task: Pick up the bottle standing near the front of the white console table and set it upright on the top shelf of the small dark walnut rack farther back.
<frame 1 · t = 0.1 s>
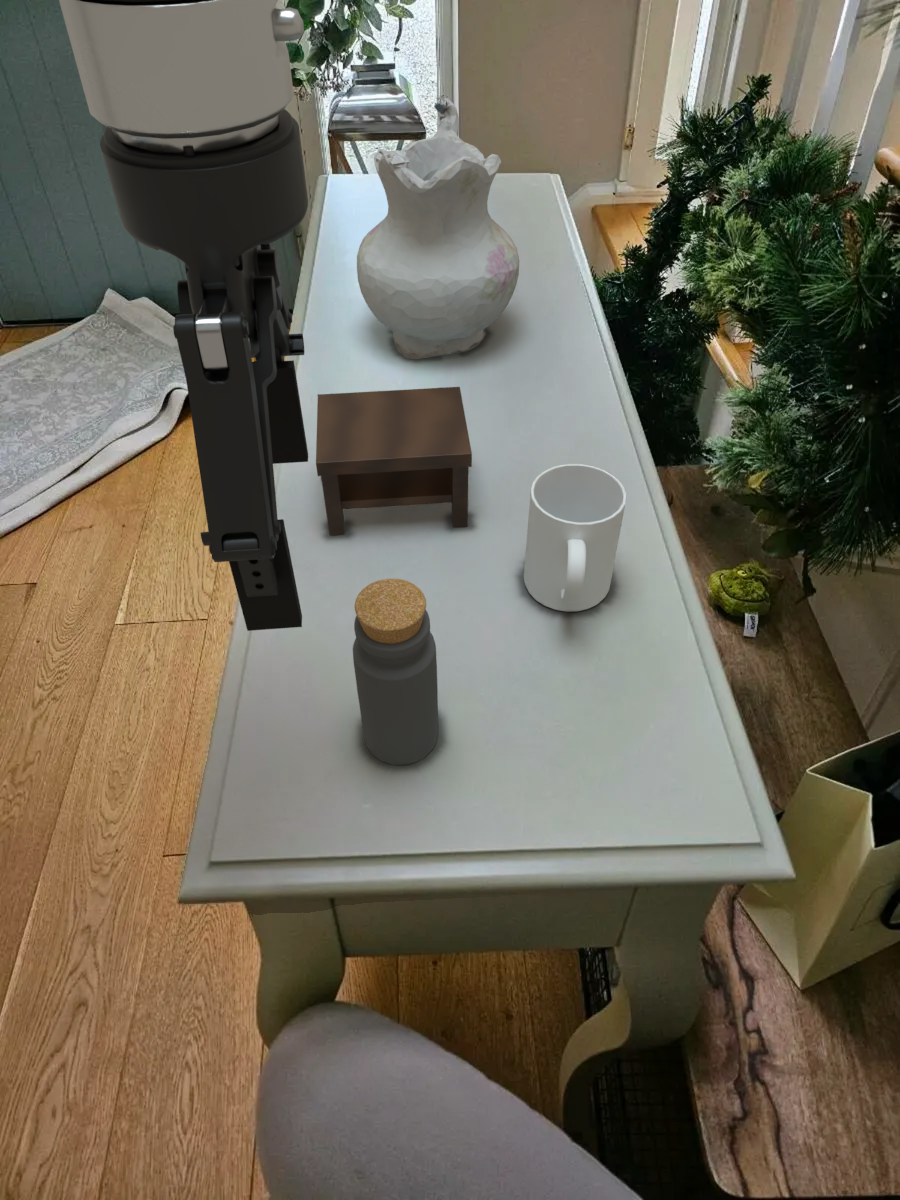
hand: (281, 534, 48), 24 cm above the table, tool pointing down, fingers open, 13 cm apart
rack: (396, 496, 87), on the table
ceramic pitcher: (438, 331, 110), on the table
mug: (566, 600, 77), on the table
bottle: (401, 735, 67), on the table
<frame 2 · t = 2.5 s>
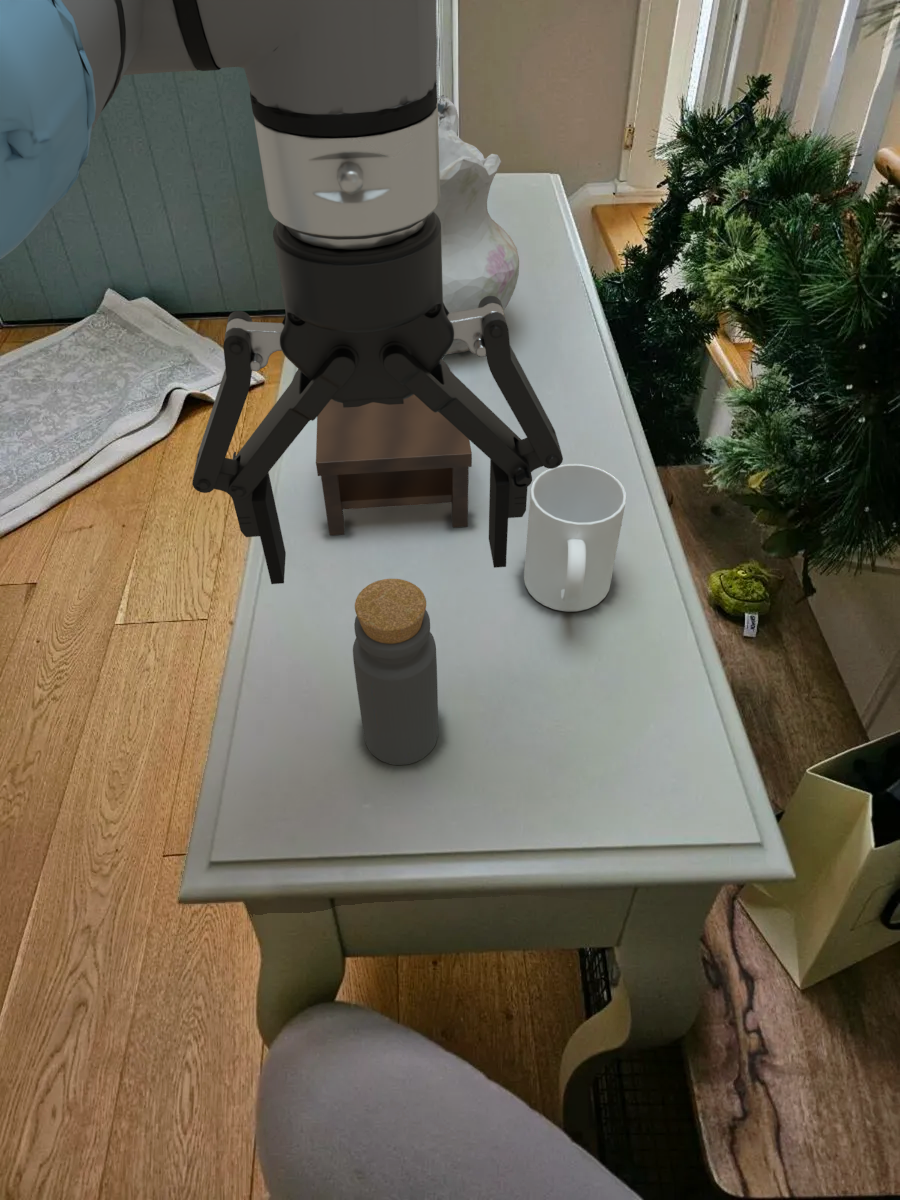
hand: (388, 560, 53), 19 cm above the table, tool pointing down, fingers open, 13 cm apart
nothing on the table moved.
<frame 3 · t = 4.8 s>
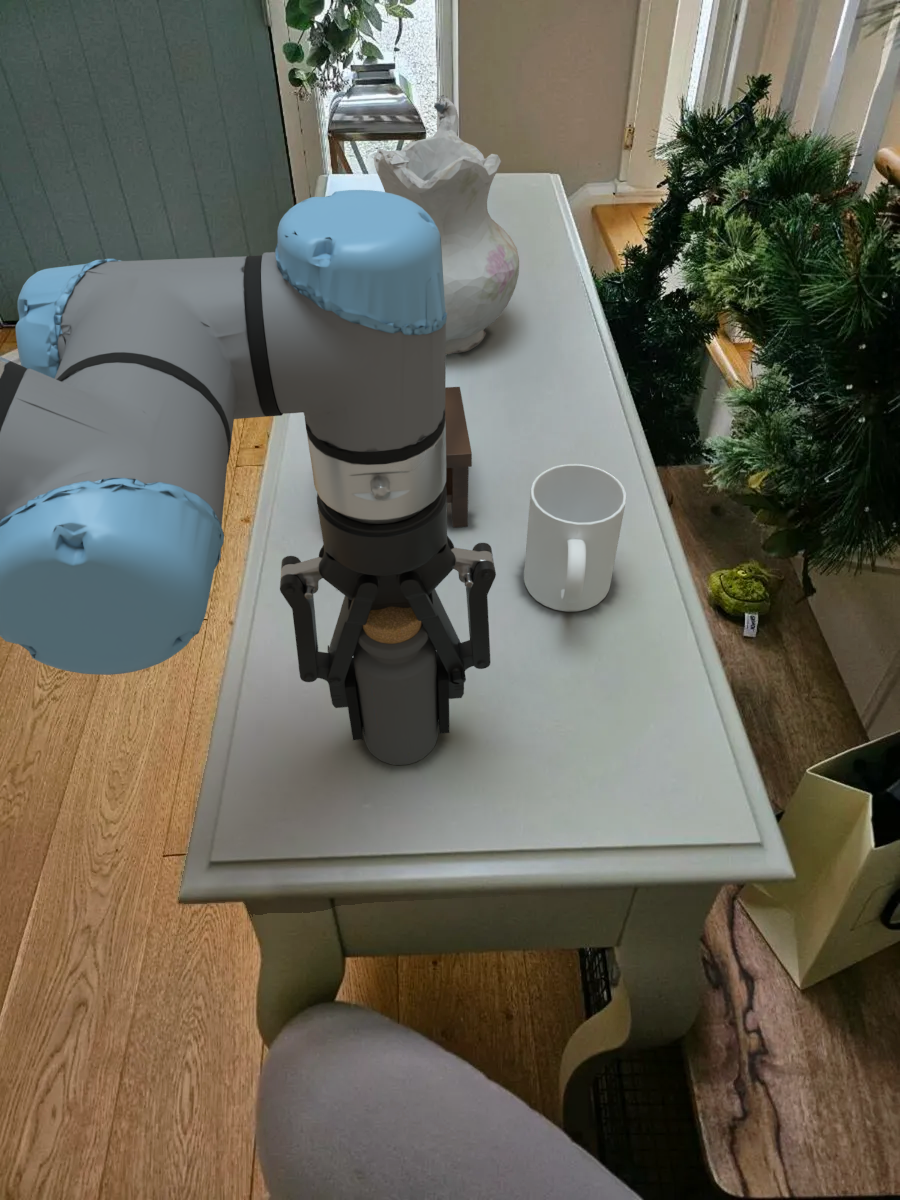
hand: (400, 721, 66), 2 cm above the table, tool pointing down, fingers closed on bottle, 6 cm apart
bottle: (401, 735, 67), on the table, touching gripper
everything else where it was.
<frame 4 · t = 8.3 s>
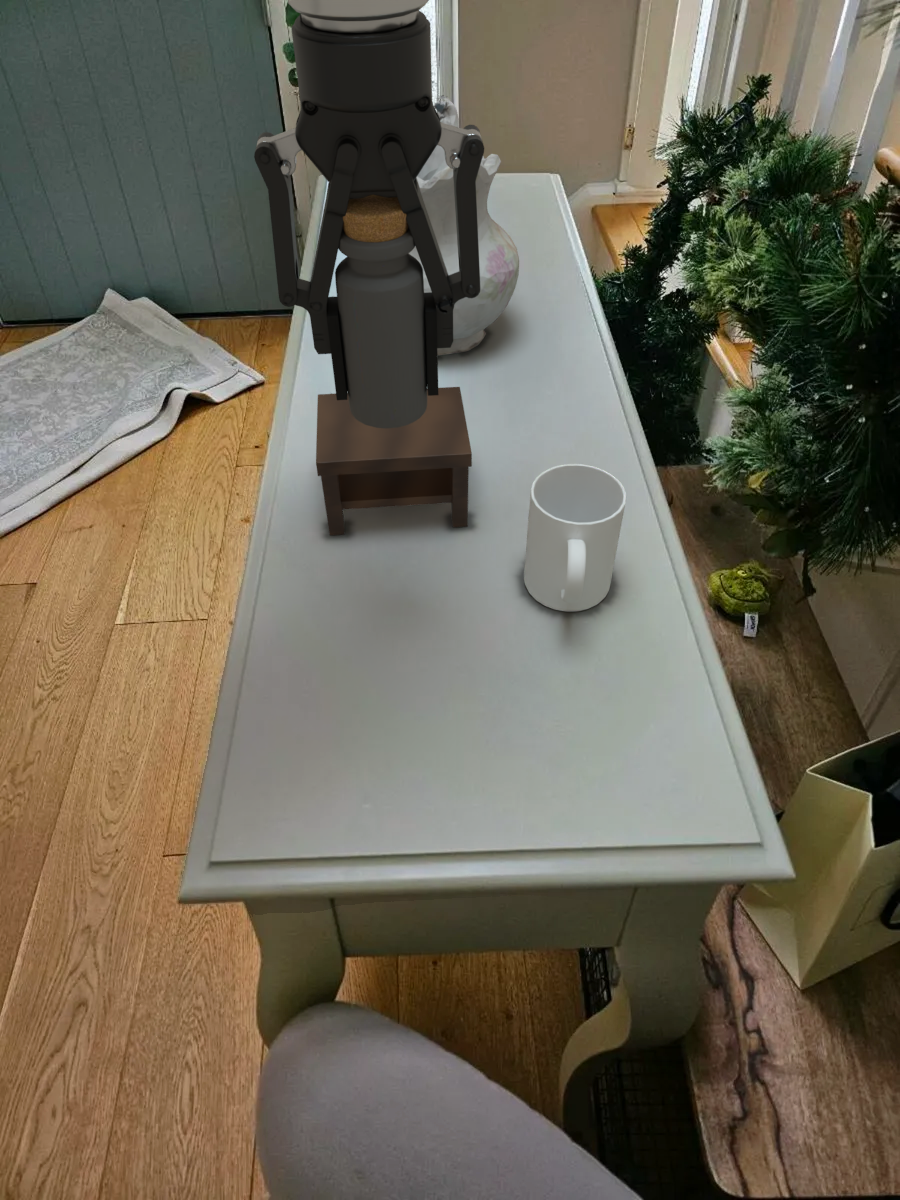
hand: (387, 386, 63), 21 cm above the table, tool pointing down, fingers closed on bottle, 6 cm apart
bottle: (388, 408, 64), point 19 cm above the table, touching gripper
everything else where it was.
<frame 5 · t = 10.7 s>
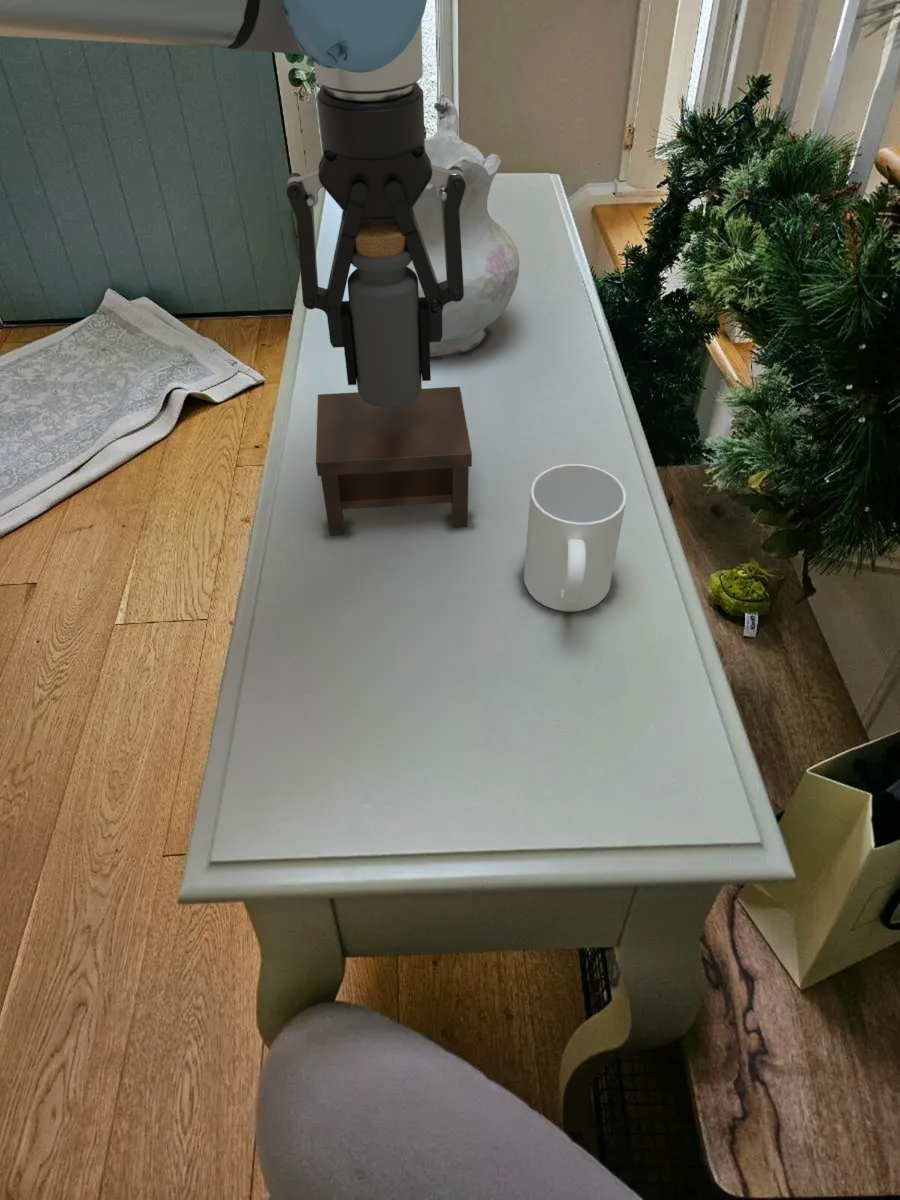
hand: (388, 374, 77), 14 cm above the table, tool pointing down, fingers closed on bottle, 6 cm apart
bottle: (389, 392, 78), point 12 cm above the table, touching gripper
everything else where it was.
when the fingers open (11 cm above the table, at t = 12.0 s): bottle stays where it is, resting on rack.
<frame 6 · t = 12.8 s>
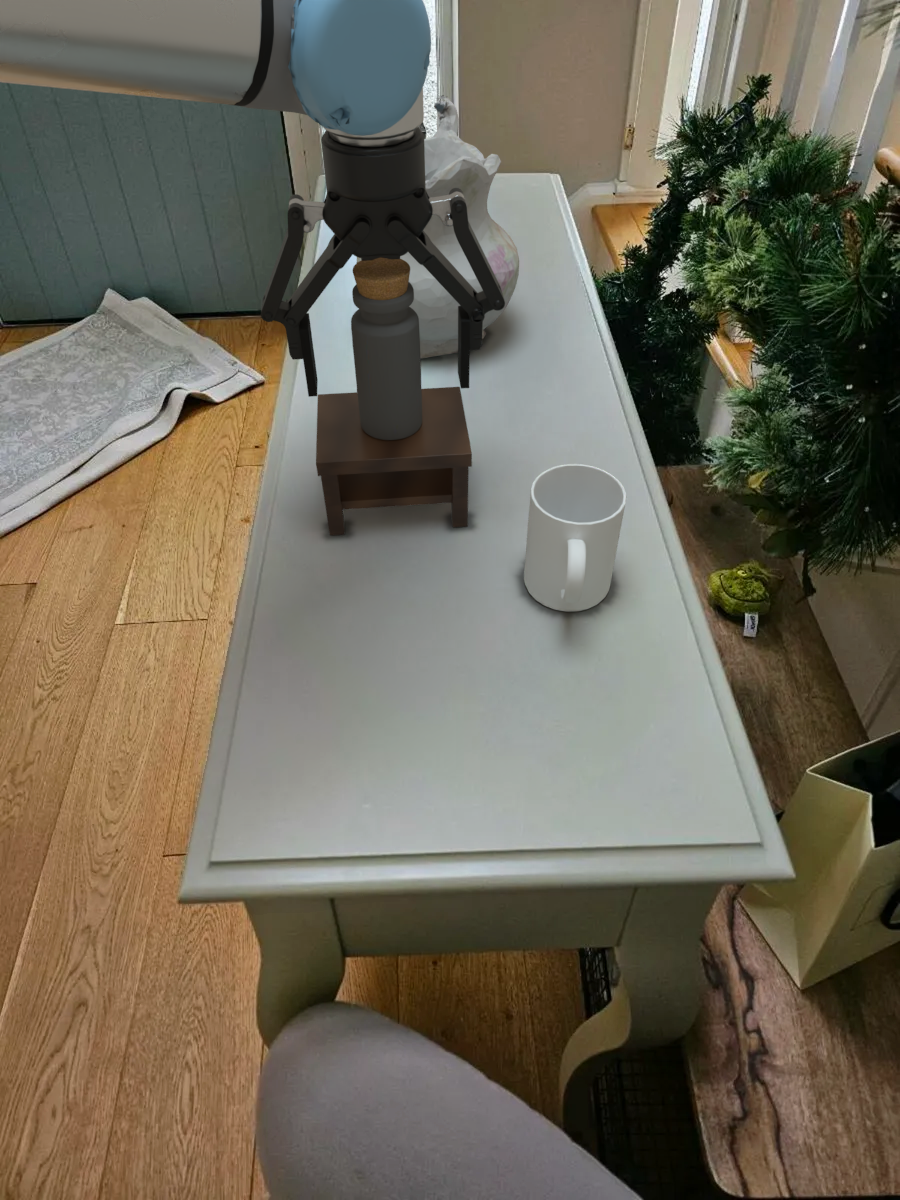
hand: (388, 384, 78), 13 cm above the table, tool pointing down, fingers open, 13 cm apart
bottle: (391, 424, 81), point 9 cm above the table, touching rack
everything else where it was.
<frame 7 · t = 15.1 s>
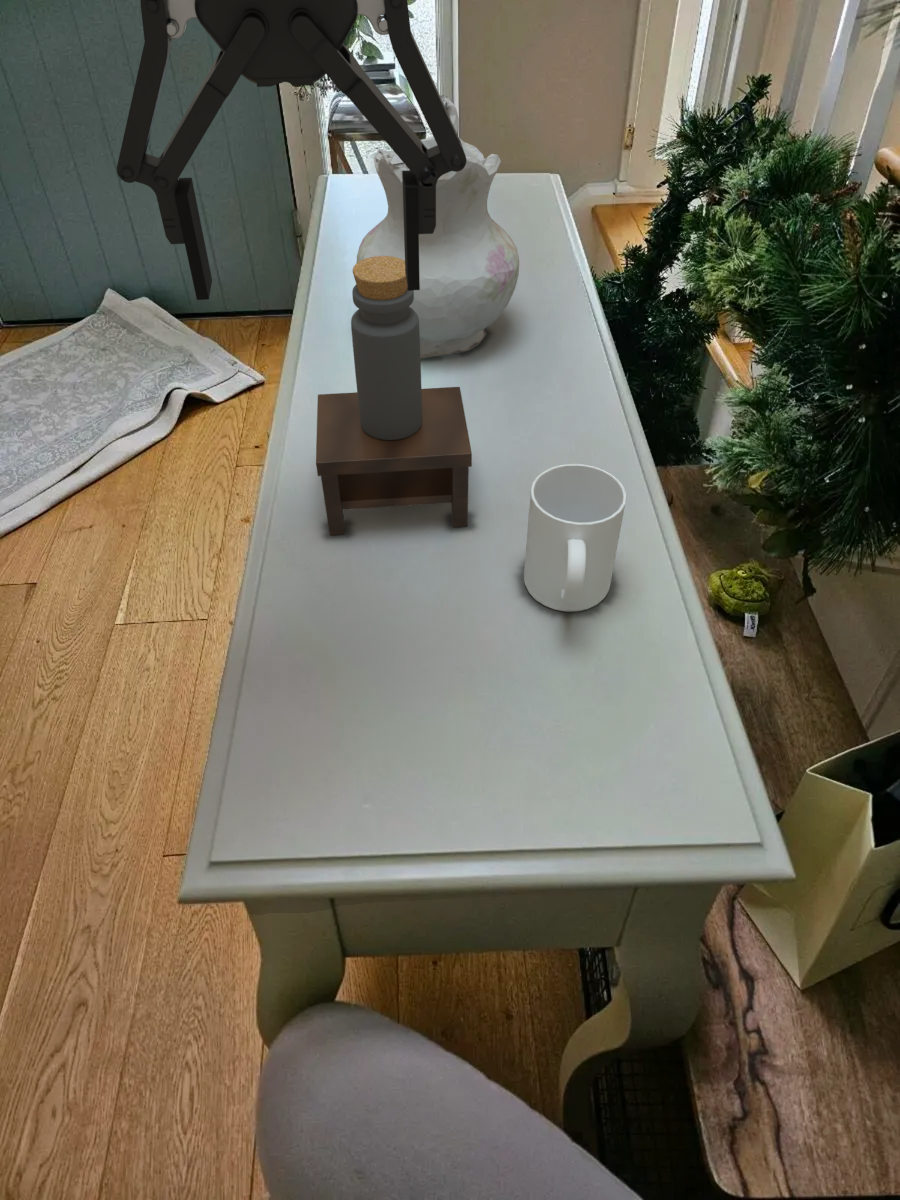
hand: (309, 286, 57), 29 cm above the table, tool pointing down, fingers open, 13 cm apart
nothing on the table moved.
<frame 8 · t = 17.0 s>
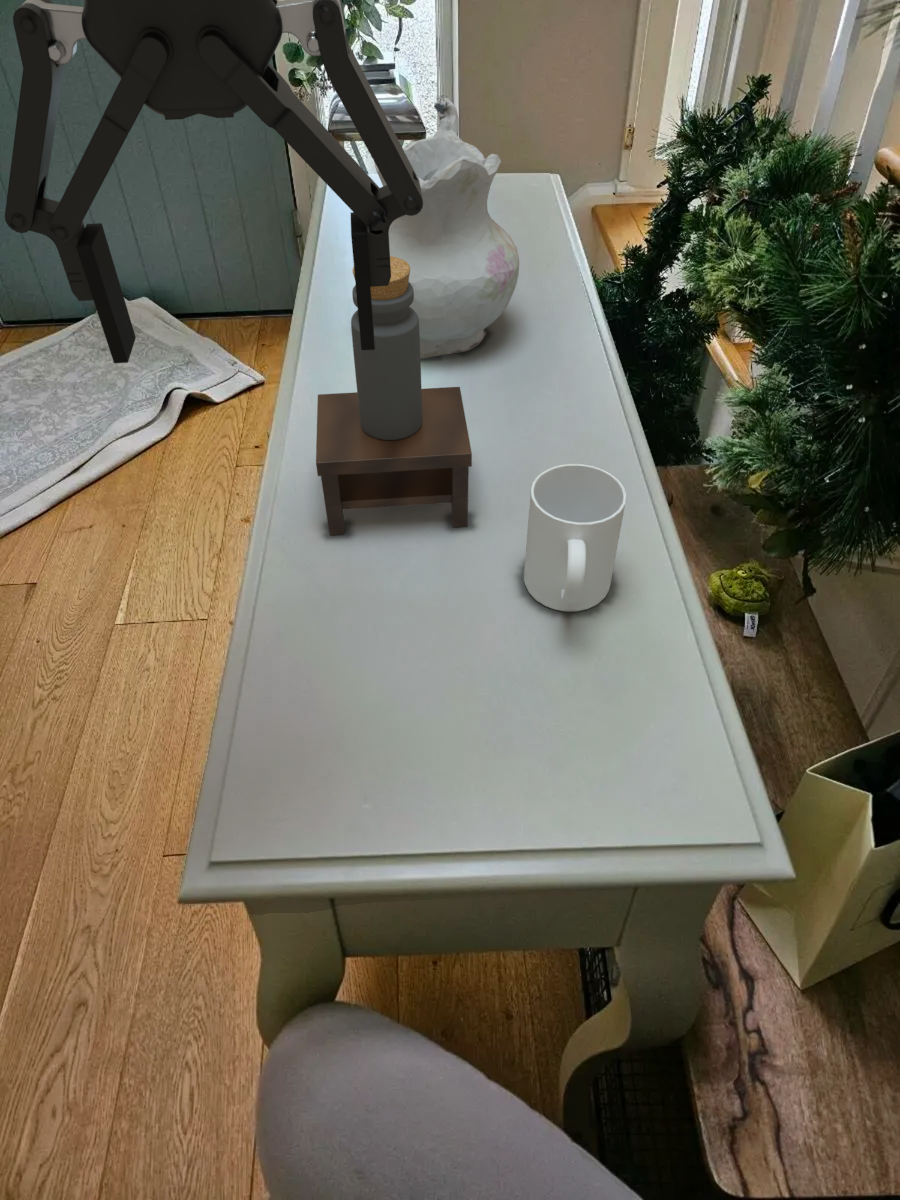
hand: (247, 344, 49), 31 cm above the table, tool pointing down, fingers open, 13 cm apart
nothing on the table moved.
at the end: bottle inside the target area on the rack (0.0 cm from its centre), point 8.8 cm above the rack's base; bottle tilted 0°; the gripper is holding nothing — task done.
